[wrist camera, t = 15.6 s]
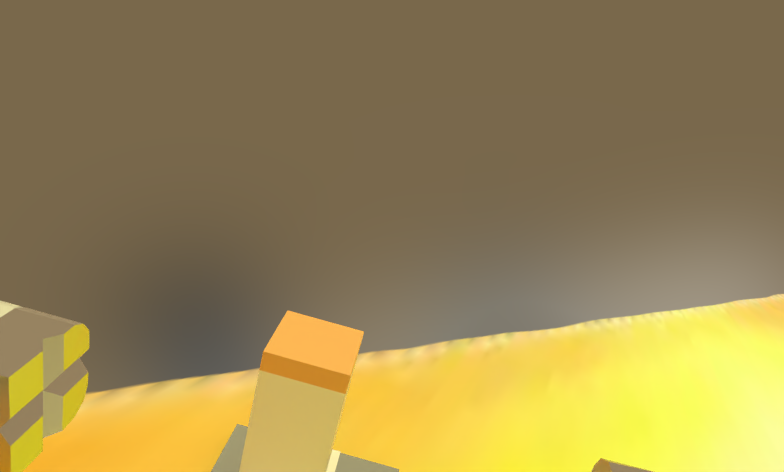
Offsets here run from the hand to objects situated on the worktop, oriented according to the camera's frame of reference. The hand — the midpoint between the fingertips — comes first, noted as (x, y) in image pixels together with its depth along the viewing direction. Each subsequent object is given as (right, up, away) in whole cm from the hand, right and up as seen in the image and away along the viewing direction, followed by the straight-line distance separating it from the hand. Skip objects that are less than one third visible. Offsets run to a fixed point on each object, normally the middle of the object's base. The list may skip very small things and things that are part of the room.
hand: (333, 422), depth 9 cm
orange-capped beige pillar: (-6, -13, +23) cm, 27 cm away
